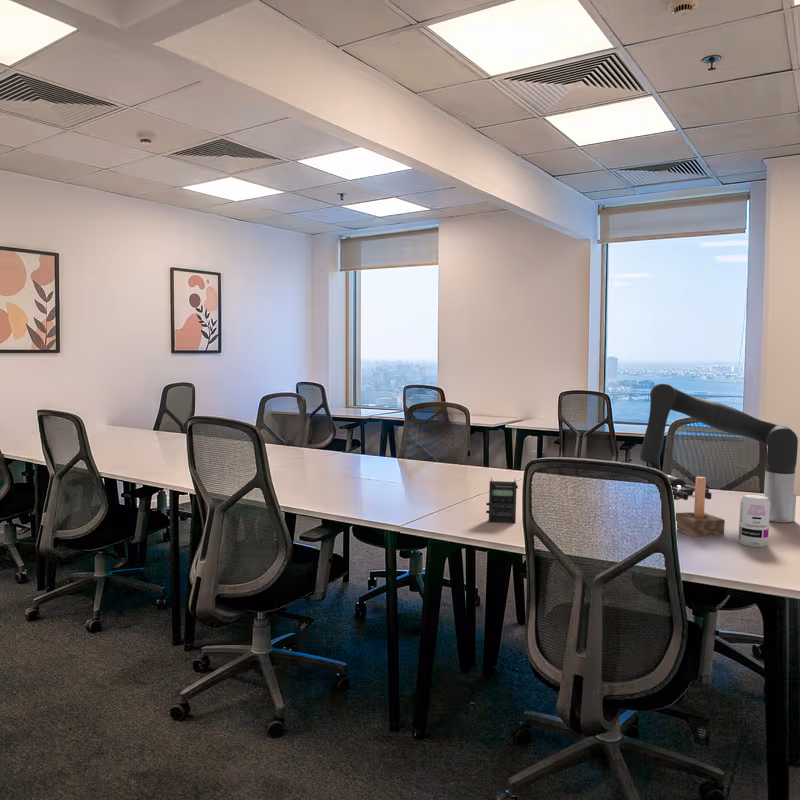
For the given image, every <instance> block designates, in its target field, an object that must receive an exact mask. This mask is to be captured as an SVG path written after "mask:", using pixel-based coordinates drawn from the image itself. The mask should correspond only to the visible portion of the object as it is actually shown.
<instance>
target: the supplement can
mask: <svg viewBox="0 0 800 800" xmlns="http://www.w3.org/2000/svg"><path fill="white" fill-rule="evenodd" d="M769 516H770V501H769V499H768V497H767V496H764V494H763V495H762V494H754V493H746V494H745V493H744V494H743V495H742V497H741V499H740V503H739V522H738V524H739V526H738V541H739V542H740V544H741V545H744V546H746V545H747V546H746V547H751V546H753V547H752V548H764V547H763V546H765V547H766V546H767V545H769V530H770V521H769Z"/></svg>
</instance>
